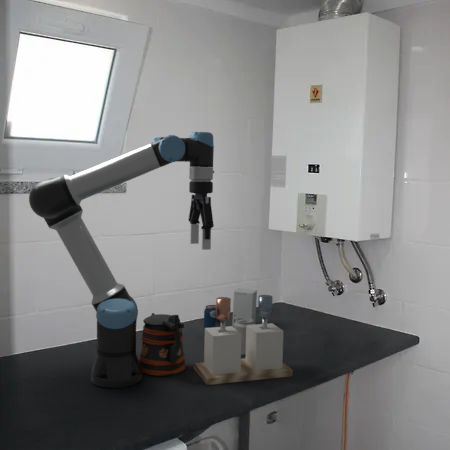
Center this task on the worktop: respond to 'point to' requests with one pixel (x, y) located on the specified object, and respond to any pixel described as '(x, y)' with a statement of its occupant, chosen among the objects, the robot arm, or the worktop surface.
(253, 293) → the skincare box
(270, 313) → the plunger
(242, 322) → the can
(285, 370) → the base board
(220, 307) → the plunger
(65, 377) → the worktop surface
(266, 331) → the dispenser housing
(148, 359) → the beer stein
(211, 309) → the soda can
